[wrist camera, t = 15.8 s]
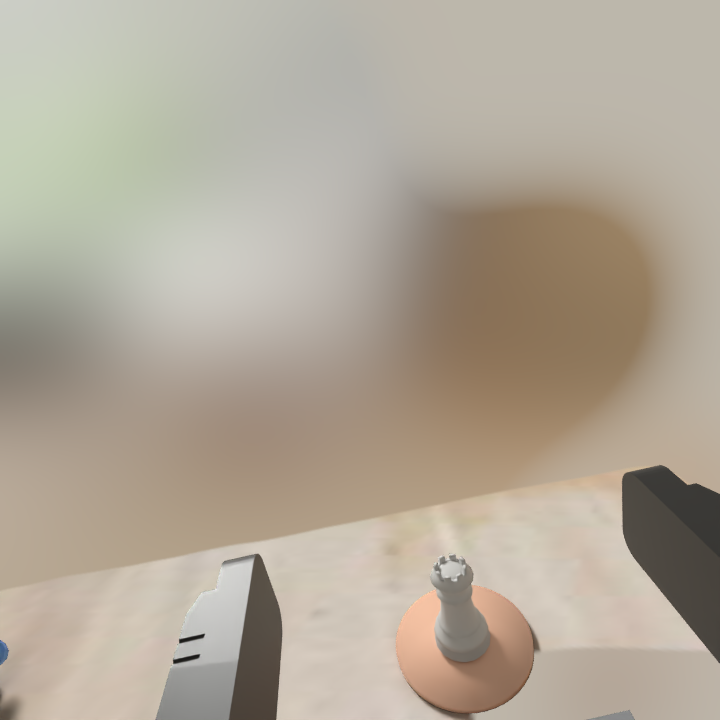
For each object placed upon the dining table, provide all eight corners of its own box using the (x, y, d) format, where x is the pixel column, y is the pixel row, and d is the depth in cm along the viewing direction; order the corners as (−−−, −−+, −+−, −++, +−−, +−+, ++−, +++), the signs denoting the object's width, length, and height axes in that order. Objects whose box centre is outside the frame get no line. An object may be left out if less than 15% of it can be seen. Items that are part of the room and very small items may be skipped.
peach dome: (482, 747, 34) (481, 742, 34) (370, 655, 42) (369, 650, 42) (559, 631, 40) (559, 626, 40) (449, 570, 48) (448, 566, 48)
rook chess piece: (427, 655, 40) (411, 581, 37) (446, 610, 44) (433, 539, 41) (482, 674, 38) (469, 596, 35) (497, 625, 41) (487, 551, 38)
